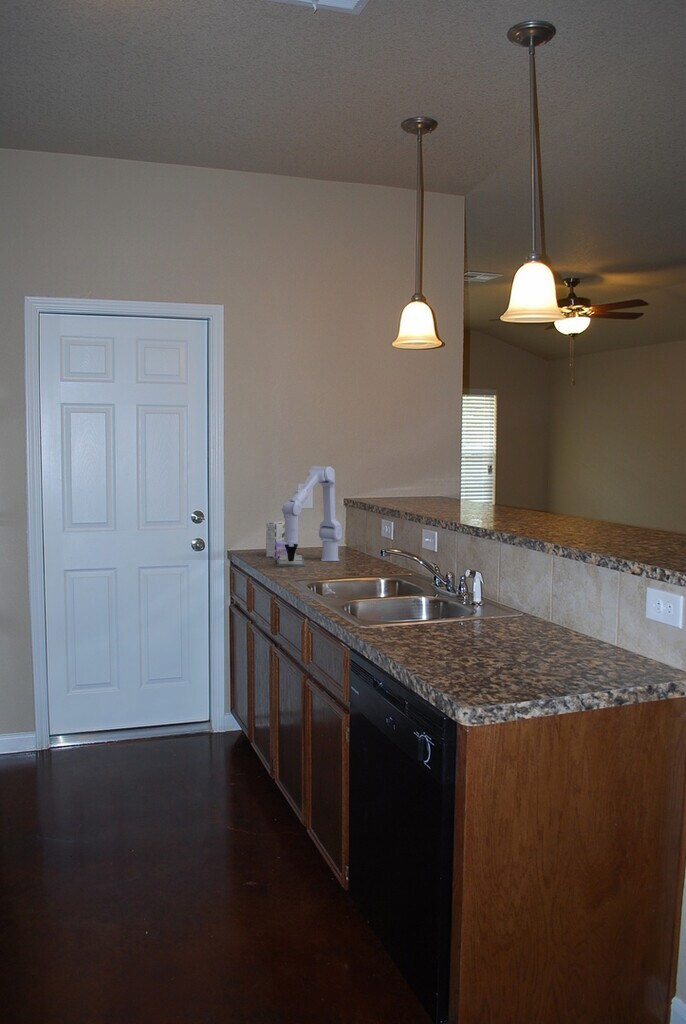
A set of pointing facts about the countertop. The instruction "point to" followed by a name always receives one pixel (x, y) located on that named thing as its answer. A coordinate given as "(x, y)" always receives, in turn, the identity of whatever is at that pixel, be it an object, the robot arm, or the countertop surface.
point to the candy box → (275, 539)
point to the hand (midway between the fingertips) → (290, 561)
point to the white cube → (287, 557)
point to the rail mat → (290, 561)
